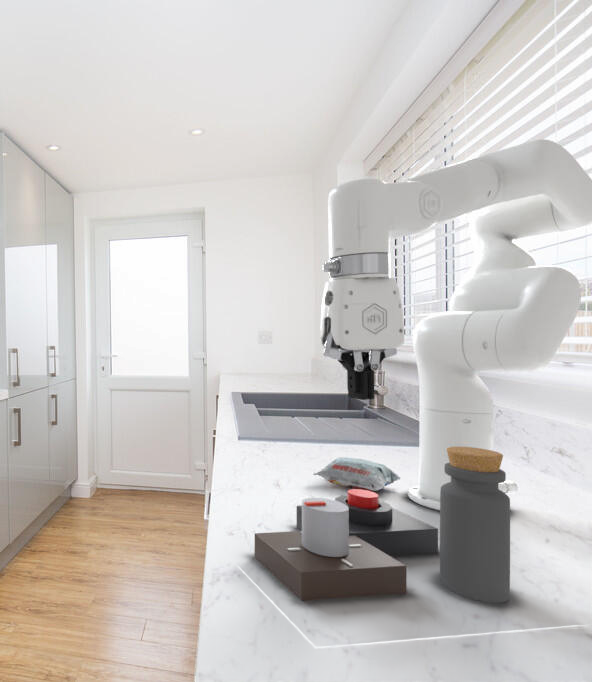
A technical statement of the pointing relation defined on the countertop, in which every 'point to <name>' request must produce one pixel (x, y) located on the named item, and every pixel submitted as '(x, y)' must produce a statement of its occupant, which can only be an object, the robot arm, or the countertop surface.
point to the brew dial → (325, 527)
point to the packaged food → (358, 474)
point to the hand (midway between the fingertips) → (360, 398)
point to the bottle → (475, 526)
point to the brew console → (329, 568)
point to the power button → (363, 499)
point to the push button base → (388, 529)
